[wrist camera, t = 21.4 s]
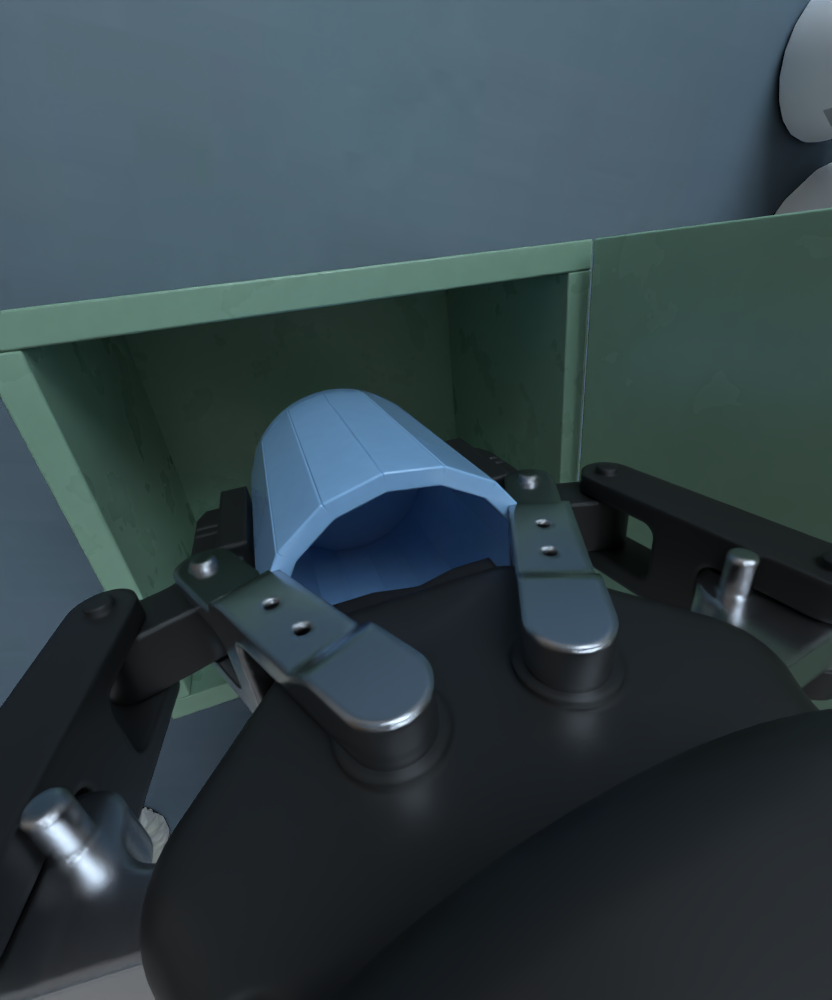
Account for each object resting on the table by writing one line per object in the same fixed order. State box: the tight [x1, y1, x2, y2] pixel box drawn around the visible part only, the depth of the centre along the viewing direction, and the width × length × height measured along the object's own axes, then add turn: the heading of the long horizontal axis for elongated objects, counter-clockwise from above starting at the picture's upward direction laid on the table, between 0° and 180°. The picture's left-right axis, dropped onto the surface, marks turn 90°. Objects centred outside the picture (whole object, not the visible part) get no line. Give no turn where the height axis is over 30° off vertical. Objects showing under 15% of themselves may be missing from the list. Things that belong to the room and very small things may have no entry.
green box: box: [0, 239, 593, 719], centre depth 19 cm, size 16×13×10 cm
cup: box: [251, 389, 517, 605], centre depth 13 cm, size 6×6×8 cm
